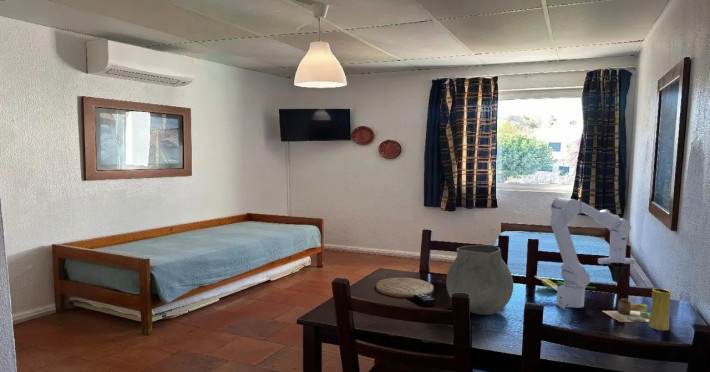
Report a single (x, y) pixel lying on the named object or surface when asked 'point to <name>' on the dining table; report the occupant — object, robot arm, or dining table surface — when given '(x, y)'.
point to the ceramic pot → (481, 278)
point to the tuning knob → (630, 307)
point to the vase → (660, 309)
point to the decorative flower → (554, 285)
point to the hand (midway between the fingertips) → (615, 281)
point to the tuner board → (630, 316)
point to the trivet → (404, 287)
